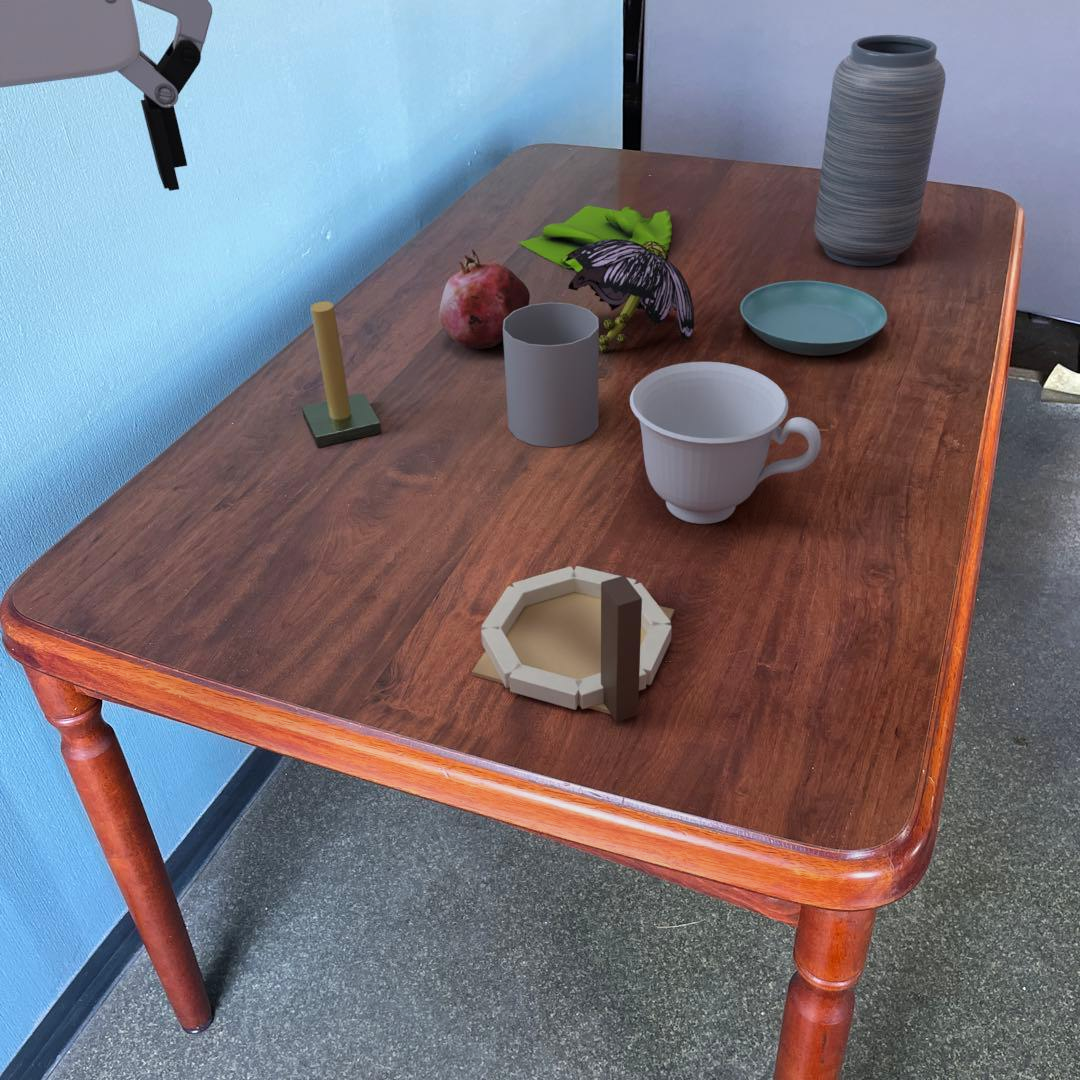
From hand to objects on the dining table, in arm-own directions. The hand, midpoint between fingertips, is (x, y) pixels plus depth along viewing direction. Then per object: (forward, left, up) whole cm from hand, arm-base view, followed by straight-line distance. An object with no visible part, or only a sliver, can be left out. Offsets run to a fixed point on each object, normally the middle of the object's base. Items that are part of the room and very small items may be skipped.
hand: (72, 197), depth 55 cm
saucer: (+65, +25, -34) cm, 77 cm away
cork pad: (+24, -8, -33) cm, 42 cm away
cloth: (+57, +57, -34) cm, 87 cm away
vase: (+82, +40, -34) cm, 97 cm away
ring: (+24, -8, -33) cm, 42 cm away
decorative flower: (+48, +32, -34) cm, 67 cm away
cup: (+34, +20, -34) cm, 52 cm away
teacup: (+41, +2, -34) cm, 53 cm away
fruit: (+34, +38, -34) cm, 61 cm away
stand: (+16, +28, -33) cm, 46 cm away
